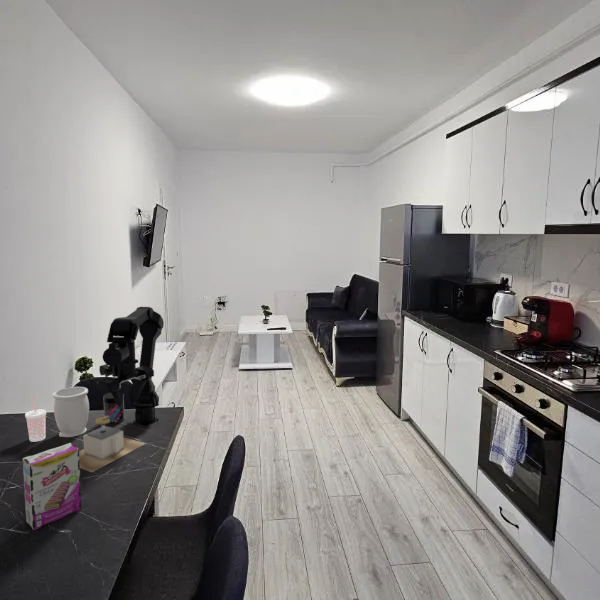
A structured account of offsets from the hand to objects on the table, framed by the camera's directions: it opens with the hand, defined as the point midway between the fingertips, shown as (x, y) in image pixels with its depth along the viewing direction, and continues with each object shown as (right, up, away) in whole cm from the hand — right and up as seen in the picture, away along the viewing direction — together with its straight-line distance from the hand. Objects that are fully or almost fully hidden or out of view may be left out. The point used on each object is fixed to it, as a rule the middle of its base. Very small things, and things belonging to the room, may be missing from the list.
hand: (127, 403), depth 146 cm
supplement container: (-11, -11, +16) cm, 22 cm away
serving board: (-5, -14, -7) cm, 16 cm away
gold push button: (-5, -9, -8) cm, 13 cm away
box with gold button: (-5, -13, -7) cm, 16 cm away
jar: (-21, -12, +7) cm, 25 cm away
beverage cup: (-31, -12, +3) cm, 34 cm away
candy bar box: (-3, -19, -37) cm, 42 cm away
